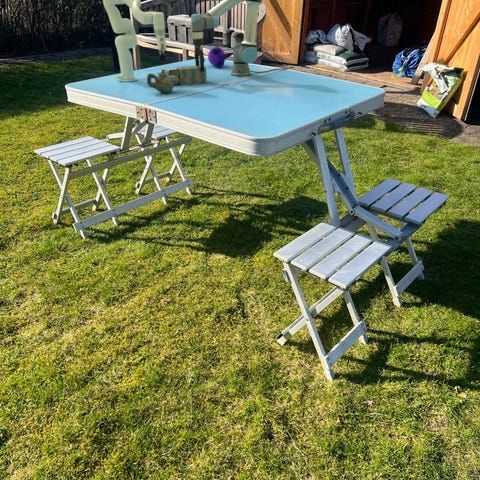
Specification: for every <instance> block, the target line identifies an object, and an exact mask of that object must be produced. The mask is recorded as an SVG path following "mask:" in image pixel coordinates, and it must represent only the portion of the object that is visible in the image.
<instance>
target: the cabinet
mask: <svg viewBox="0 0 480 480" xmlns="http://www.w3.org/2000/svg"><path fill="white" fill-rule="evenodd" d="M176 69H178V70H180V81H181V83H178V84H179V85H180V86H188V85H189V86H190V85H200V84H207V83H208V79H207V77H208V76H207V67H206V66H204V71H205V72H201V70H200V64H199V66H196V65H186V66H176Z"/></svg>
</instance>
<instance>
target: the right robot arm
mask: <svg viewBox="0 0 480 480" xmlns="http://www.w3.org/2000/svg"><path fill="white" fill-rule="evenodd" d="M244 2H245V3H246V4H247V5H246V12H245V13H246V14H245V21H244V31H243V32H244V33H243V41H241V42H238V43H233V45H232V53H233V55H232V60H233V63H232V68H231V72H230V73H231V76H233V77H246V76H250V75H251V73H254V74H255V73H256V74H260V73H261V74H262V73H268V72H271V71H277V70H290V69H294V70H296V68H295V67H294V66H290V67H283V68H274V69H269V70H263V71H254V70H251V69H250V65H249V64H254V63H255V62H256V61H257V59H258V57H259V52H258V49H257V45H258V44H257V43H256V35H257V28H258V18H259V11H260V10H259V9H260V5H262V2H263V0H222V1H220V2H219V3H217V4H216V5H215V6H214V7H212V8H211V9H209V10H208V11H206V12H205V13H204V14H201V13H193V14H191V16H190V22H191V34H192V35H191V37H192V45H193V46H194V53H193V54H194V55H193V57H194V60H195V61H194V62H195V66H199V65H200V70H201V72H205V71H204V67H205V62H206V61H205V55H204V48H203V47H204V46H203V45H204V30H205V29H206V30H207V29H218V28H219V26H220V20H219V18H221V17H222V16H223V15H224V14H226V13H227V12H229V11H230V10H231V9H232V8H235V6H237V5H238V4H239V3H244Z"/></svg>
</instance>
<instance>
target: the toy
mask: <svg viewBox="0 0 480 480" xmlns="http://www.w3.org/2000/svg"><path fill="white" fill-rule="evenodd" d="M230 57H233V52H225V51H224V50H223V49H222V47H220V46H214V47H212V48H210V50H209V51H208V54H207V59H208V62H209V63H210V64H211V65H212V66H214V67H216V68H217V69H220V68H222V67H223V66H224V65H225V62H226V60H227V59H228V58H230Z"/></svg>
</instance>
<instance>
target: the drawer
mask: <svg viewBox="0 0 480 480" xmlns="http://www.w3.org/2000/svg"><path fill="white" fill-rule="evenodd" d="M164 70H165V72H166V73H167V77H168V76H171V75H175V76H176V77H178V79H179V82H178V83H177V84H179V83H181V81H180V70H178V69H177V68H176V69H175V68H174V69H164ZM159 73H160V72H157V76H159Z"/></svg>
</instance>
